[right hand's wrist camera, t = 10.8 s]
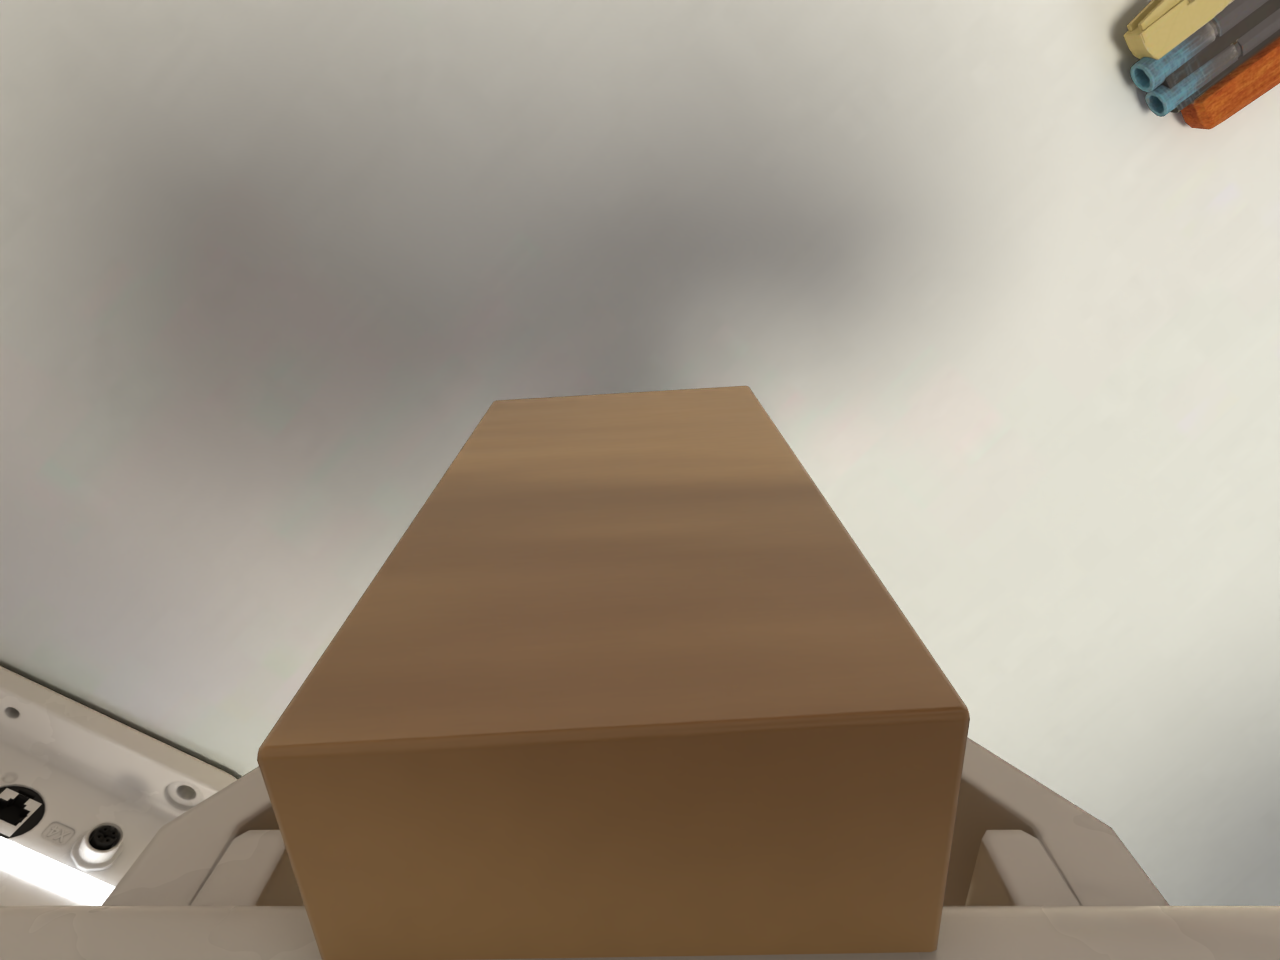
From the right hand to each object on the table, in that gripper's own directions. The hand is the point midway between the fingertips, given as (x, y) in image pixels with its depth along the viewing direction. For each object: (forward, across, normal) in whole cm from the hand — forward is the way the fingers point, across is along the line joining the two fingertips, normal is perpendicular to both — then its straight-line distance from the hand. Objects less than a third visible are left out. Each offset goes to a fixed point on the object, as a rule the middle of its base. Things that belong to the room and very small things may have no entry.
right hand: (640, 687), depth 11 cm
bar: (+3, 0, -8) cm, 9 cm away
